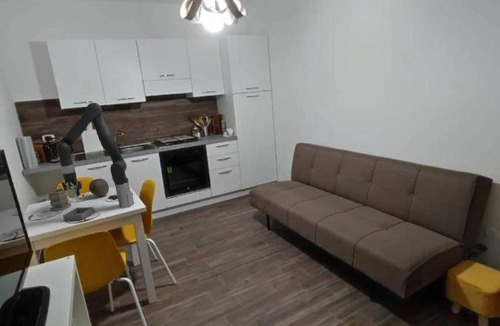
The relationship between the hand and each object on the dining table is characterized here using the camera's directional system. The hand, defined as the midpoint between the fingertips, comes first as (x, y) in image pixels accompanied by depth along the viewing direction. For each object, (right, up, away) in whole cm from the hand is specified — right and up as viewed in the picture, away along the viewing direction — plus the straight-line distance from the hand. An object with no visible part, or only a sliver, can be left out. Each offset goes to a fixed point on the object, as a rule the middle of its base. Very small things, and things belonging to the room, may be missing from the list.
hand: (74, 195), depth 204 cm
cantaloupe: (-4, -5, +44) cm, 45 cm away
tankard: (-26, -12, +29) cm, 41 cm away
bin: (+2, -15, +3) cm, 15 cm away
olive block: (0, -1, 0) cm, 1 cm away
